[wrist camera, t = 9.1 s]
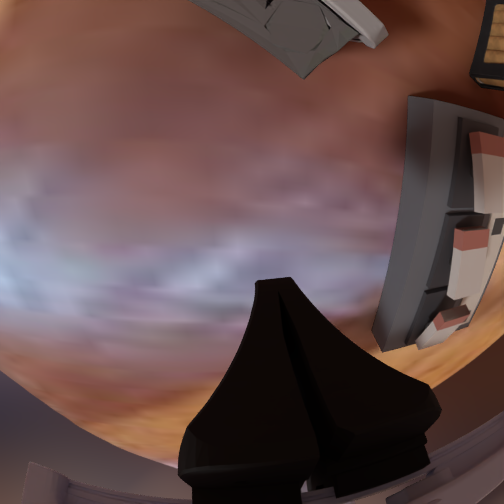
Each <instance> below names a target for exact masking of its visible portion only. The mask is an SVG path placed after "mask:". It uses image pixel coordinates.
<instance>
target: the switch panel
mask: <svg viewBox="0 0 504 504" xmlns="http://www.w3.org/2000/svg"><path fill="white" fill-rule="evenodd" d="M472 132H484V133H488V134H492V135H495V136H499V137H503V138H504V119H502V118H499V117H496V116H493V115H490V114H487V113H483V112H480V111H477V110H474V109H470V108H466V107H463V106H459V105H455V104H451V103H447V102H443V101H438V100H434V99H428V98H421V97H415V96H408V118H407V139H406V153H405V165H404V175H403V184H402V192H401V199H400V206H399V213H398V219H397V225H396V231H395V236H394V242H393V247H392V252H391V257H390V261H389V266H388V271H387V275H386V279H385V283H384V287H383V291H382V295H381V299H380V303H379V307H378V310H377V314H376V317H375V321H374V324H373V328H372V333H373V335H374V337H375V339H376V341H377V343H378V345H379V347H380V349H381V351H382V352H386V351H390V350H394V349H398V348H402V347H405V346H409V345H412V344H416V342H415V341H416V339H417V338H418V337H419V336H420V335H421V334H422V333H423V332H424V331H425V324H426V323H427V322H430V321H433V320H434V318H435V317H436V316H437V315H438V313H439V312H441V311H444V310H448V309H451V308H455V307H458V306H461V305H465V304H466V306H467V308H468V310H469V312H470V315H469V316H468V317H467V319H466V320H465V321H464V322H463V323H462V324H461V325H460V326H459V327H458V328H457V329H456V330H455V331H457V330H460V329H462V328H465V327H468V325H469V324H470V322H471V320H472V318H473V316H474V314H475V312H476V310H477V307H478V305H479V303H480V301H481V299H482V297H483V294H484V292H485V290H486V287H487V285H488V283H489V280H490V278H491V275H492V273H493V270H494V268H495V265H496V262H497V260H498V257H499V254H500V251H501V248H502V245H503V242H504V213H489V214H483V213H478V212H474V179H473V178H472V177H471V175H470V168H471V166H473V162H472V154H471V145H470V137H469V133H472ZM475 226H482V227H485V228H488V229H490V230H489V240H488V247H487V253H486V261H485V267H484V273H483V279H482V284H481V289H480V293H477V294H474V295H471V296H467V297H464V298H460V299H457V300H453V299H452V298H450V297H449V296H447V290H448V285H449V278H450V271H451V267H450V265H449V259H450V257H452V256H453V243H454V231H455V228H463V227H475Z"/></svg>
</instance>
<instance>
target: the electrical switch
mask: <svg viewBox="0 0 504 504" xmlns="http://www.w3.org/2000/svg"><path fill="white" fill-rule="evenodd" d="M189 1H191V2H192V3H194V4H196V5H198V6H200V7H201V8H203V9H205V10H207V11H208V12H210V13H212V14H213V15H215V16H217V17H218V18H220V19H222V20H223V21H225V22H226V23H228V24H229V25H231V26H233V27H234V28H236V29H237V30H239V31H240V32H242V33H243V34H244V35H246V36H247V37H249V38H250V39H252V40H253V41H254V42H256V43H257V44H259V45H260V46H261V47H263V48H264V49H265V50H267V51H268V52H269V53H271V54H272V55H273V56H275V57H276V58H277V59H279V60H280V61H281V62H282V63H284V64H285V65H286V66H287V67H289V68H290V69H291V70H292V71H293V72H295V73H296V74H297V75H298V76H299V77H301V78H302V79H305V78H306V77H307V76H308V75H309V74H310V73H311V72H312V71H313V70H314V69H315V68H316V67H317V66H318V65H319V64H320V63H322V62H323V61H325V60H326V59H328V58H329V57H330V56H332V55H333V54H334V53H336V52H337V51H338V50H340V49H341V48H342V47H343V46H344V45H345V44H346V43H347V42H348V41H353V42H363V43H364V44H365V45H366V46H368V47H371V48H374V49H375V48H376V46H377V45H379V44H380V43H381V42H382V41H383V40H384V39H385V38H386V37H387V36H388V35H389V34H388V32H387V30H386V28H385V26H384V25H383V24H382V23H381V21H380V20H379V19H378V18H377V17H376V16H375V15H374V14H373V13H372V12H370V11H369V10H368V9H367V8H366V7H365V6H364V5H363V4H362V3H361V2H360V1H359V0H189Z"/></svg>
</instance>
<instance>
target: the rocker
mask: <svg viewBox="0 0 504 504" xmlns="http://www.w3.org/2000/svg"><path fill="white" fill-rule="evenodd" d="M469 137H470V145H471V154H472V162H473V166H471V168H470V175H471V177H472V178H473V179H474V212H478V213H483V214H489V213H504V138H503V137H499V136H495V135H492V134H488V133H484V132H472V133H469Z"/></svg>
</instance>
